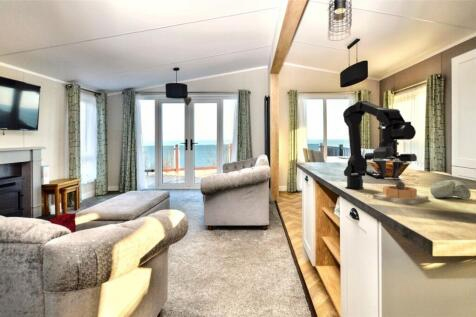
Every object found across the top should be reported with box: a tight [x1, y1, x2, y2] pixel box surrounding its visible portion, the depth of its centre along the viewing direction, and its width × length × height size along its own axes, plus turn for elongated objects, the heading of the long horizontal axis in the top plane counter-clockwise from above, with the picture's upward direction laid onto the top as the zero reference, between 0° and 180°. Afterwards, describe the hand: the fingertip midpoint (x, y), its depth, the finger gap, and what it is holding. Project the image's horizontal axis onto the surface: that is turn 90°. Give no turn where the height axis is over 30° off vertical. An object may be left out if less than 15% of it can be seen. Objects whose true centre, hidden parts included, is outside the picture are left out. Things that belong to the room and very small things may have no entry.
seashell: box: [429, 179, 472, 200], centre depth 112 cm, size 13×8×10 cm
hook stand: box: [372, 181, 429, 206], centre depth 112 cm, size 15×13×7 cm
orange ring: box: [382, 185, 418, 198], centre depth 112 cm, size 11×11×3 cm
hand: (388, 177), depth 115 cm, fingers open, 4 cm apart
